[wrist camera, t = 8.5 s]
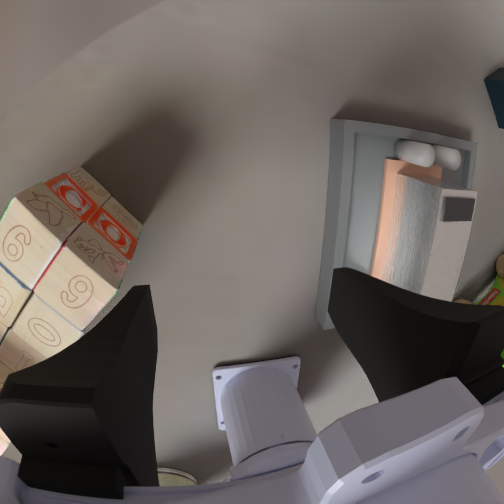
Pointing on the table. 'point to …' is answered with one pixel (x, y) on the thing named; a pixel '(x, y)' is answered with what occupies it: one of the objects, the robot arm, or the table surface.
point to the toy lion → (493, 290)
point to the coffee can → (174, 477)
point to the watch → (497, 94)
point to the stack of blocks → (58, 266)
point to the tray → (376, 191)
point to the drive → (428, 235)
